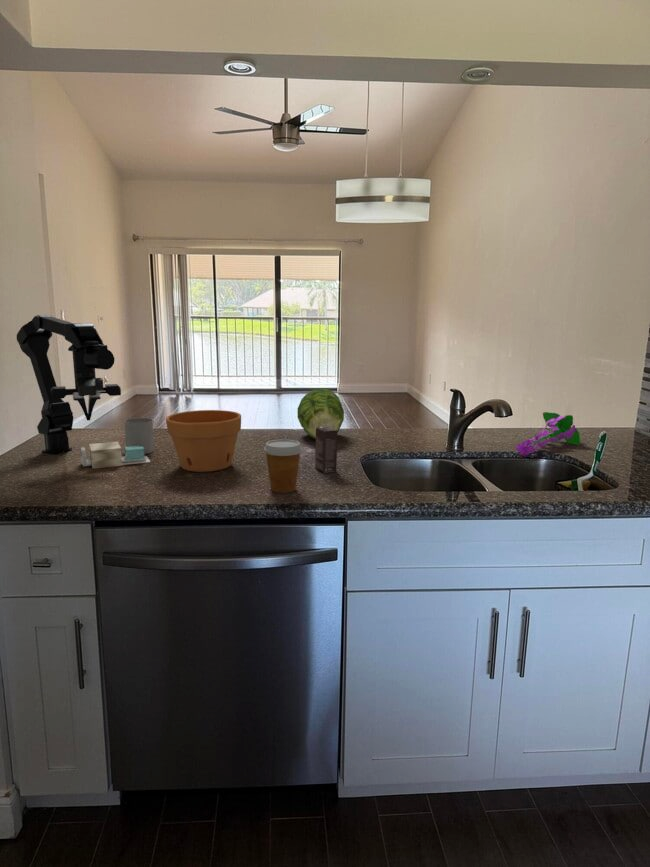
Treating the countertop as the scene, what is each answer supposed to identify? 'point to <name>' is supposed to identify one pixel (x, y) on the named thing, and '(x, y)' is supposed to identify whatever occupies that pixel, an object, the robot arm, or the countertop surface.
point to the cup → (140, 433)
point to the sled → (130, 455)
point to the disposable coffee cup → (283, 464)
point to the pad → (137, 461)
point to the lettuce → (320, 411)
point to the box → (326, 449)
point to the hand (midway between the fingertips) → (88, 420)
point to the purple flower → (552, 433)
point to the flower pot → (204, 438)
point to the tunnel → (105, 454)
